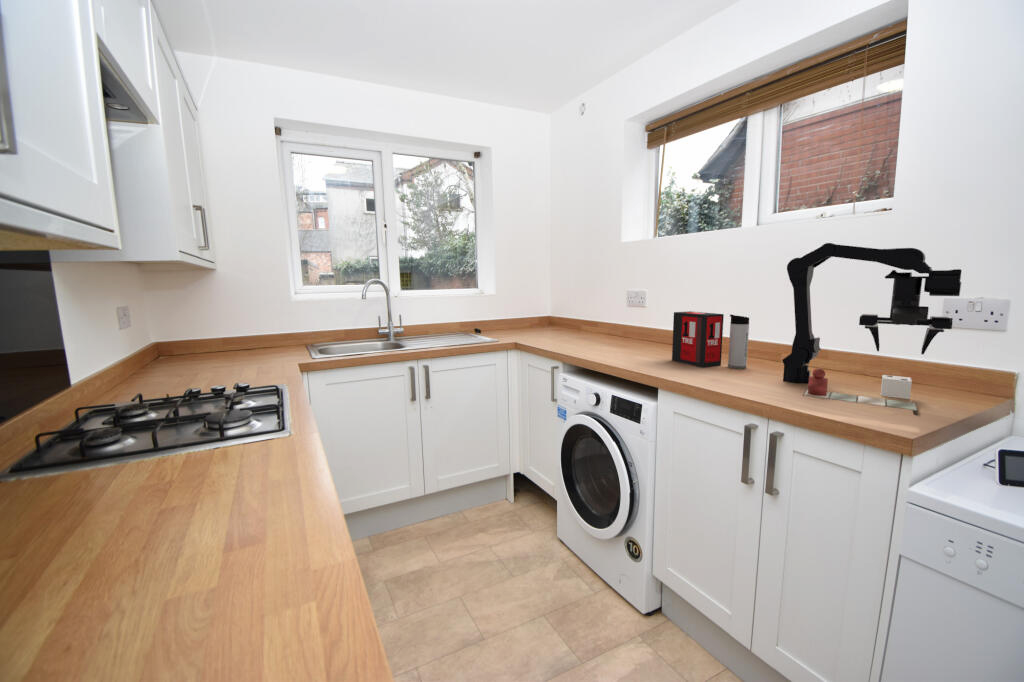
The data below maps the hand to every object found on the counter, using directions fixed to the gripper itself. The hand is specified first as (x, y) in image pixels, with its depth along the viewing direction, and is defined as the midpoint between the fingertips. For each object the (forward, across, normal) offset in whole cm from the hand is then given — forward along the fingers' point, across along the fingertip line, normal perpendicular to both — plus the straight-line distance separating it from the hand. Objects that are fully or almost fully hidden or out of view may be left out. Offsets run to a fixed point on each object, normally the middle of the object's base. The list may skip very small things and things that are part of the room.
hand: (899, 352), depth 122 cm
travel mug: (+13, -45, +21) cm, 51 cm away
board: (+13, -8, -11) cm, 19 cm away
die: (+13, 0, 0) cm, 13 cm away
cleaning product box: (+13, -60, +21) cm, 65 cm away
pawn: (+12, -17, -11) cm, 23 cm away
